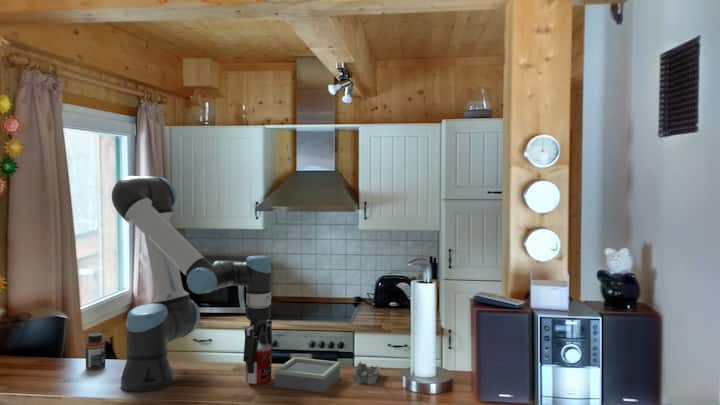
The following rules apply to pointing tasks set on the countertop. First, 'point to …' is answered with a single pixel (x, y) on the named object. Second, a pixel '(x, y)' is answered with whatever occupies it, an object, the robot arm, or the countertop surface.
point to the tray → (307, 374)
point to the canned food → (262, 364)
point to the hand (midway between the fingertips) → (258, 378)
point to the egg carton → (366, 374)
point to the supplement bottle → (95, 352)
